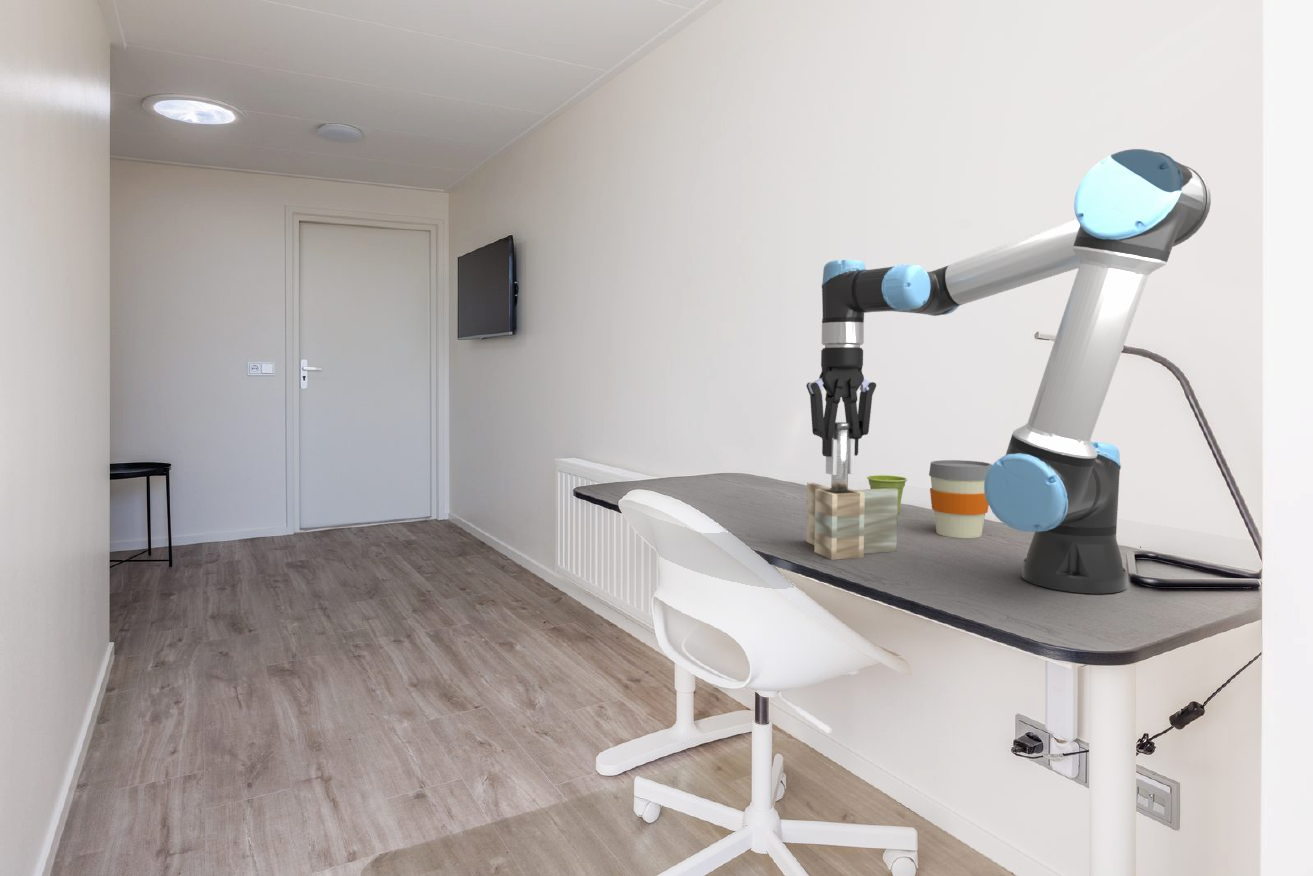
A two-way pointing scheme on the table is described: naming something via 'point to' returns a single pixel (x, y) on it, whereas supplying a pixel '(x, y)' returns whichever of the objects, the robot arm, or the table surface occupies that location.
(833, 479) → the hinge pin
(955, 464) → the reusable coffee cup
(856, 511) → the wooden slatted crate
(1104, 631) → the table surface
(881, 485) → the plant pot
